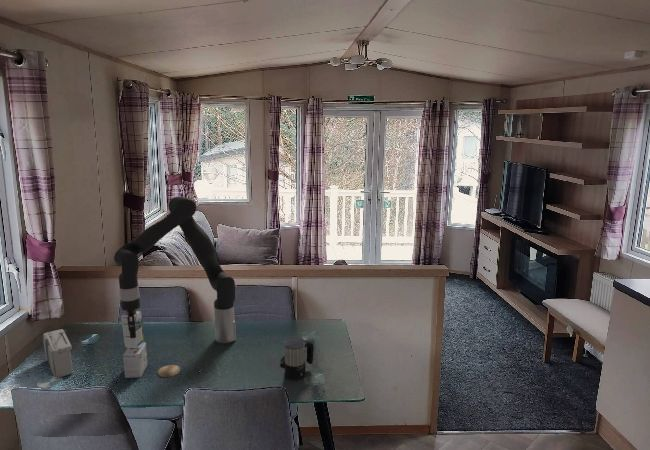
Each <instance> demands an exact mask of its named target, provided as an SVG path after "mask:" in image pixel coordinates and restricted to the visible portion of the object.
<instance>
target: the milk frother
mask: <svg viewBox="0 0 650 450" xmlns="http://www.w3.org/2000/svg"><path fill="white" fill-rule="evenodd" d="M283 345H284V356H282V358H281V359H280V364H281V365H282V366H283V367H284V373H283V375H284V377H285V378H286V379H287V380H289V381H290V380H291V381H299V380H303V379H304V378H306V376H307V372H306V366H307V365H306V362H307V364H309V365H312V364H313V362H314V351H315V349H314V344H313V343H312V342H311V341H309V340H304V338H299V337H290V338H288V339H286V340H285V341H284V342H283Z"/></svg>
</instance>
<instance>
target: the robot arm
mask: <svg viewBox="0 0 650 450" xmlns="http://www.w3.org/2000/svg"><path fill="white" fill-rule="evenodd" d="M168 211H169V214H167V215H166V216H165V217H164V218H162V219H160V220H159V221H156V223H154V224H152V225H151V226H149V227H147V228H146V229H144V230H143V231H142V232H141V233H140V234H139V235H138V236H137V237H136V238H134V239H132V240H131V241H130V242H127V243H126V244H124V245H123V246H121V247H120V248H118V250H117V251H116V252H115V253H114V256H113V260H114V263H115V264H117V265H118V266H121V273H120V274H119V275H118V283H119V284H118V285H119V301H120V302H119V303H120V308H121V310H122V311H126V312H125V313H127V314H126V315H128V318H127V324H128V327H129V329H128V330H129V331H130V338H136V330H135V329H136V327H135V324H136V317H134V314H136V311H137V309H139V308H141V297H140V296H141V295H140V294H141V293H140V288H139V282H138V280H139V279H138V273H139V267H140V266H139V264H140V260H139V256H138V255H140V254H143V253H144V254H145V253H147V252H148V251H149V250H151V248H152V247H154V246H155V245H156V244H157V243H158V242H160V240H162V239H163V238H164V237H165V236H167V234H169V233H170V232H171V231H172V230H174V229H176V228H177V227H179V228H180V229H181V231H182V233H183V235H184V237H185V239H186V241H187V243H188V244H189V247H190V248H191V250H192V252H193V254H194V256H195V257H196V259H197V260H198V262H199V264H200V265H201V267H202V268H203V270H204V272H205V275H206V276H207V279H208V281H209V283H210V286H211V288H212V289H213V290H214V291H216V299H215V300H214V301H213V306H214V307H213V309H214V310H213V311H214V314H213V315H214V330H215V331H214V332H215V336H214V337H215V341H216V343H219V344H229V343H232V342H234V341H237V336H236V333H237V332H236V331H237V329H236V321H235V300H236V283H235V280H234V277H232V276H231V275H229V274H227V273H226V272H225V270H223V268H222V267H221V265H220V264H219V261H218V257H217V251H216V248H215V246H214V244H213V242H212V240H211V238H210V236H209V235H208V234H207V233H206V231H205V230H204V228H202V227H201V226H200V225H199V224H198V222H197V221H196V220H195V218H194V217H193V216H194V215H195V213H196V211H197V205H196V202H195V201H194V200H193V198H189V197H185V196H174V197H172V198H171V199H170V200H169V202H168ZM136 316H137V314H136ZM134 318H135V320H134ZM130 325H134V327H130Z"/></svg>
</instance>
